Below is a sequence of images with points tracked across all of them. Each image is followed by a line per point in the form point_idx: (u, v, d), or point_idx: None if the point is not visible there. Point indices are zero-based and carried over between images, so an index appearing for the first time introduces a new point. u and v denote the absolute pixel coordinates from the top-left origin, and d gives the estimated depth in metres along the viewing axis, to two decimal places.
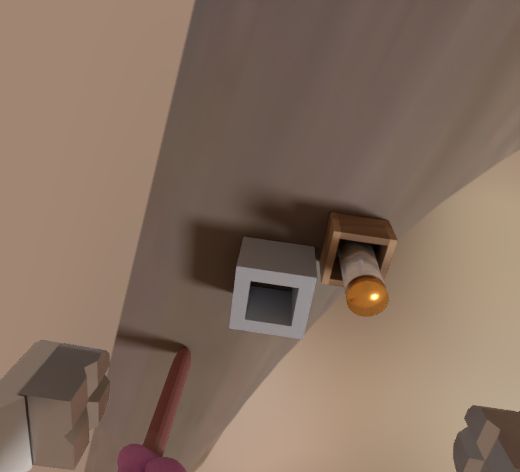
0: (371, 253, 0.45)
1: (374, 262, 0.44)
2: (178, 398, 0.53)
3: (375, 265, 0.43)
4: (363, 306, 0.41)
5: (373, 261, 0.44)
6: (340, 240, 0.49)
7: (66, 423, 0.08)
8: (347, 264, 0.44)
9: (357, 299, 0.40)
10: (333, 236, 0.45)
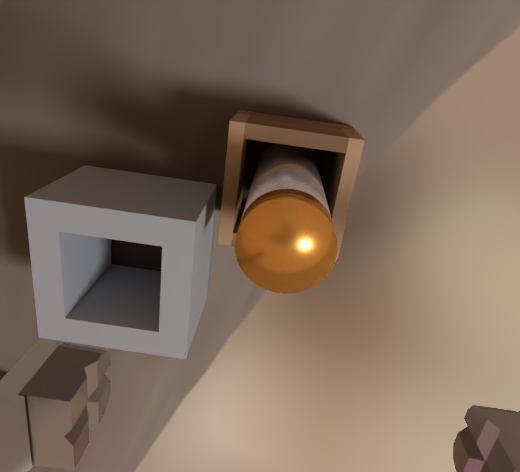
0: (310, 169, 0.21)
1: (313, 179, 0.20)
2: None
3: (313, 182, 0.19)
4: (277, 266, 0.16)
5: (310, 177, 0.20)
6: (258, 162, 0.25)
7: (66, 423, 0.08)
8: (254, 185, 0.20)
9: (260, 247, 0.16)
10: (230, 133, 0.21)
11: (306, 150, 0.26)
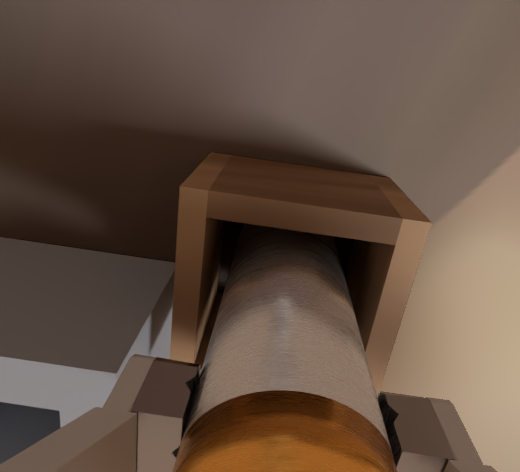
0: (330, 275, 0.11)
1: (338, 312, 0.10)
2: None
3: (341, 327, 0.09)
4: None
5: (334, 308, 0.10)
6: (240, 239, 0.15)
7: (176, 439, 0.08)
8: (221, 322, 0.10)
9: None
10: (181, 209, 0.12)
11: None
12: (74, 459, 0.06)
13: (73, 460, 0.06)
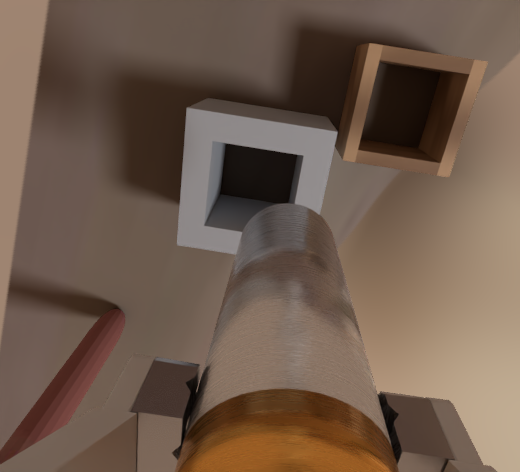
0: (331, 276, 0.12)
1: (339, 312, 0.10)
2: (87, 380, 0.30)
3: (342, 327, 0.09)
4: None
5: (335, 308, 0.10)
6: (241, 240, 0.16)
7: (175, 439, 0.08)
8: (223, 323, 0.10)
9: None
10: (368, 55, 0.24)
11: (318, 219, 0.16)
12: (75, 459, 0.06)
13: (73, 460, 0.06)
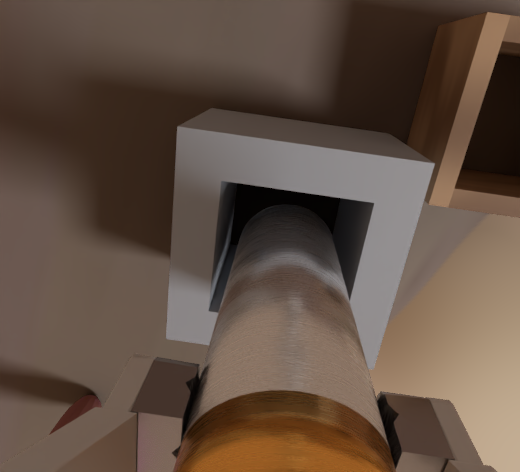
0: (329, 277, 0.12)
1: (337, 313, 0.10)
2: None
3: (340, 328, 0.09)
4: None
5: (333, 309, 0.10)
6: (240, 241, 0.16)
7: (175, 439, 0.08)
8: (221, 324, 0.10)
9: None
10: (483, 33, 0.14)
11: (317, 220, 0.16)
12: (75, 458, 0.06)
13: (73, 460, 0.06)
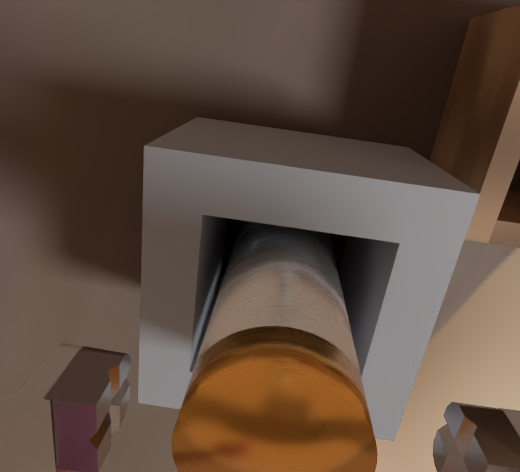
0: (319, 249, 0.13)
1: (324, 276, 0.12)
2: None
3: (325, 287, 0.11)
4: None
5: (320, 273, 0.12)
6: (242, 222, 0.17)
7: (91, 427, 0.08)
8: (225, 285, 0.12)
9: (222, 451, 0.08)
10: None
11: None
12: None
13: None
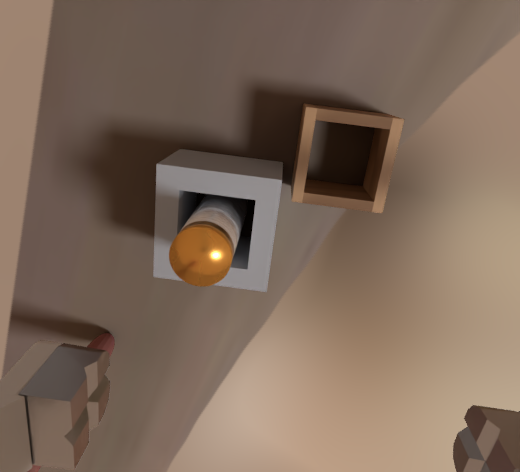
0: (230, 205, 0.32)
1: (227, 213, 0.30)
2: None
3: (226, 215, 0.29)
4: (195, 269, 0.26)
5: (226, 211, 0.30)
6: None
7: (66, 423, 0.08)
8: None
9: (184, 257, 0.26)
10: (305, 116, 0.29)
11: None
12: None
13: None
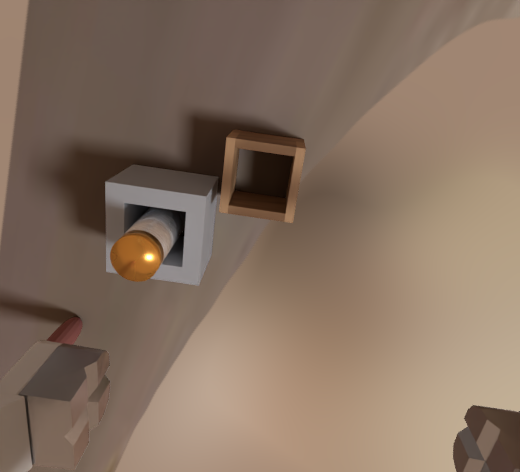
0: (168, 215, 0.39)
1: (163, 222, 0.37)
2: None
3: (161, 224, 0.36)
4: (131, 268, 0.34)
5: (162, 221, 0.37)
6: None
7: (66, 422, 0.08)
8: None
9: (122, 258, 0.33)
10: (226, 144, 0.36)
11: None
12: None
13: None
